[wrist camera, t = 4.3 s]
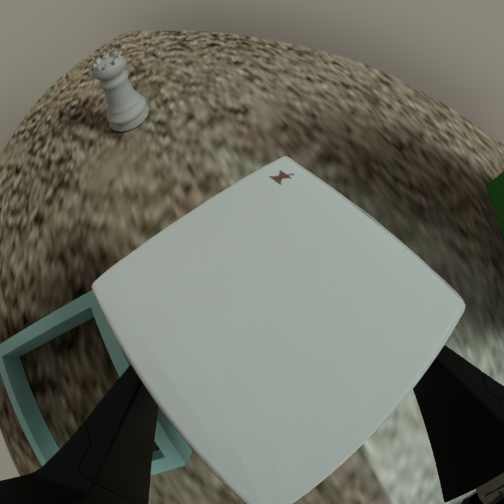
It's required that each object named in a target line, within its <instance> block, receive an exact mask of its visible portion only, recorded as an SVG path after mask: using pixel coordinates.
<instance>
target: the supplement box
mask: <svg viewBox="0 0 504 504" xmlns="http://www.w3.org/2000/svg"><path fill="white" fill-rule="evenodd" d="M91 288H92V290H93V293H94V295H95V297H96V299H97V301H98V304H99V306H100V308H101V310H102V312H103V315H104V317H105V319H106V321H107V322H108V324H109V326H110V328H111V330H112V332H113V334H114V336H115V338H116V340H117V341H118V343H119V345H120V347H121V348H122V350H123V352H124V353H125V355H126V357H127V359H128V360H129V362H130V363H131V365H132V367H133V368H134V370H135V372H136V373H137V375H138V376H139V378H140V379H141V381H142V383H143V384H144V386H145V387H146V389H147V390H148V392H149V393H150V395H151V396H152V397H153V399H154V400H155V402H156V403H157V405H158V406H159V407H160V409H161V410H162V412H163V413H164V414H165V416H166V417H167V418H168V420H169V421H170V422H171V424H172V425H173V426H174V427H175V429H176V430H177V431H178V433H179V434H180V435H181V436H182V438H183V439H184V440H185V441H186V442H187V444H188V445H189V446H190V447H191V448H192V450H193V451H194V452H195V453H196V454H197V455H198V456H199V458H200V459H201V460H202V461H203V462H204V463H205V464H206V465H207V466H208V467H209V468H210V470H211V471H212V472H213V473H214V474H215V475H216V476H217V477H218V478H219V479H220V480H221V481H222V482H223V483H224V484H225V485H226V486H227V487H228V488H229V489H230V490H231V491H232V492H234V493H235V494H236V495H237V496H238V497H239V498H240V499H241V500H242V501H243V502H245V503H246V504H293V503H294V502H295V501H297V500H298V499H300V498H301V497H302V496H304V495H305V494H306V493H308V492H309V491H310V490H312V489H313V488H314V487H315V486H317V485H318V484H319V483H320V482H322V481H323V480H324V479H325V478H326V477H328V476H329V475H330V474H331V473H332V472H333V471H335V470H336V469H337V468H338V467H339V466H340V465H341V464H342V463H343V462H345V461H346V460H347V459H348V458H349V457H350V456H351V455H352V454H353V453H354V452H355V451H356V450H357V449H358V448H359V447H360V446H361V445H362V444H363V443H364V442H365V441H366V440H368V439H369V438H370V437H371V436H372V435H373V434H374V433H375V431H376V430H377V429H378V428H379V427H380V426H381V425H382V424H383V423H384V422H385V421H386V420H387V419H388V418H389V417H390V415H391V414H392V413H393V412H394V411H395V410H396V409H397V407H398V406H399V405H400V404H401V403H402V402H403V400H404V399H405V398H406V397H407V395H408V394H409V393H410V392H411V390H412V389H413V388H414V387H415V385H416V384H417V383H418V381H419V380H420V379H421V377H422V376H423V375H424V373H425V372H426V371H427V369H428V368H429V367H430V365H431V364H432V362H433V361H434V359H435V358H436V357H437V355H438V354H439V352H440V351H441V349H442V348H443V346H444V344H445V343H446V341H447V340H448V338H449V337H450V335H451V333H452V332H453V330H454V328H455V327H456V325H457V323H458V322H459V320H460V318H461V316H462V315H463V313H464V311H465V303H464V301H463V300H462V298H461V297H460V295H459V294H458V293H457V292H456V291H455V290H454V289H453V288H452V287H451V286H450V285H449V284H448V283H447V282H446V281H445V280H444V279H443V278H441V277H440V276H439V275H438V274H437V273H436V272H435V271H433V270H432V269H431V268H430V267H429V266H428V265H427V264H426V263H425V262H424V261H423V260H422V259H421V258H419V257H418V256H417V255H416V254H415V253H414V252H413V251H412V250H410V249H409V248H408V247H407V246H406V245H405V244H403V243H402V242H401V241H400V240H399V239H398V238H396V237H395V236H394V235H393V234H392V233H390V232H389V231H388V230H387V229H385V228H384V227H383V226H382V225H381V224H379V223H378V222H377V221H376V220H375V219H374V218H373V217H372V216H370V215H369V214H368V213H366V212H365V211H364V210H362V209H361V208H359V207H358V206H356V205H355V204H354V203H352V202H351V201H350V200H348V199H347V198H346V197H344V196H343V195H342V194H340V193H339V192H337V191H336V190H335V189H333V188H332V187H331V186H329V185H328V184H326V183H325V182H323V181H322V180H321V179H319V178H318V177H317V176H315V175H314V174H312V173H311V172H309V171H308V170H306V169H305V168H303V167H302V166H300V165H299V164H297V163H296V162H295V161H293V160H292V159H291V158H289V157H287V156H282V157H281V158H279V159H277V160H275V161H273V162H271V163H269V164H268V165H266V166H264V167H262V168H260V169H258V170H257V171H255V172H253V173H251V174H250V175H248V176H246V177H245V178H243V179H241V180H240V181H238V182H236V183H235V184H233V185H231V186H230V187H228V188H227V189H225V190H223V191H222V192H220V193H219V194H217V195H215V196H214V197H212V198H211V199H209V200H207V201H206V202H204V203H203V204H201V205H200V206H198V207H197V208H195V209H194V210H192V211H191V212H189V213H188V214H186V215H185V216H183V217H181V218H180V219H178V220H177V221H175V222H174V223H172V224H171V225H169V226H168V227H167V228H165V229H164V230H162V231H161V232H159V233H158V234H156V235H155V236H154V237H152V238H151V239H149V240H148V241H146V242H145V243H144V244H142V245H141V246H140V247H138V248H137V249H135V250H134V251H132V252H131V253H130V254H128V255H127V256H126V257H124V258H123V259H121V260H120V261H118V262H117V263H116V264H115V265H113V266H112V267H111V268H109V269H108V270H107V271H106V272H105V273H103V274H102V275H101V276H100V277H99V278H98V279H97V280H95V281H94V282H93V284H92V287H91Z"/></svg>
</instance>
